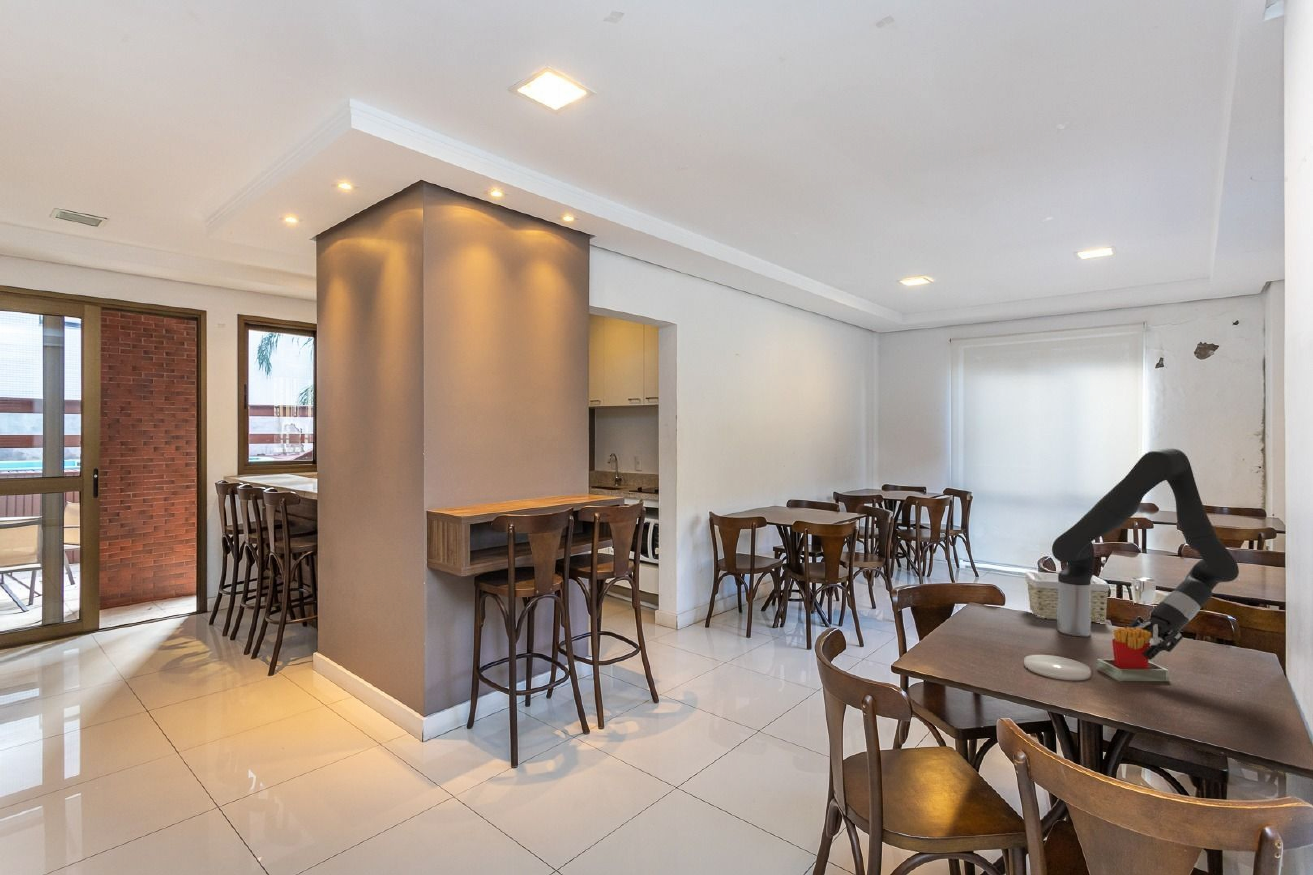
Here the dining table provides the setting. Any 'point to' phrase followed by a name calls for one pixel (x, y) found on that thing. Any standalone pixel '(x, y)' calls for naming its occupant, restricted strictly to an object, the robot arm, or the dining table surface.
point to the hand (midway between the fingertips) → (1134, 651)
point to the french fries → (1131, 648)
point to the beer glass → (1143, 590)
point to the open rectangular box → (1133, 672)
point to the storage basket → (1046, 596)
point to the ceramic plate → (1057, 667)
